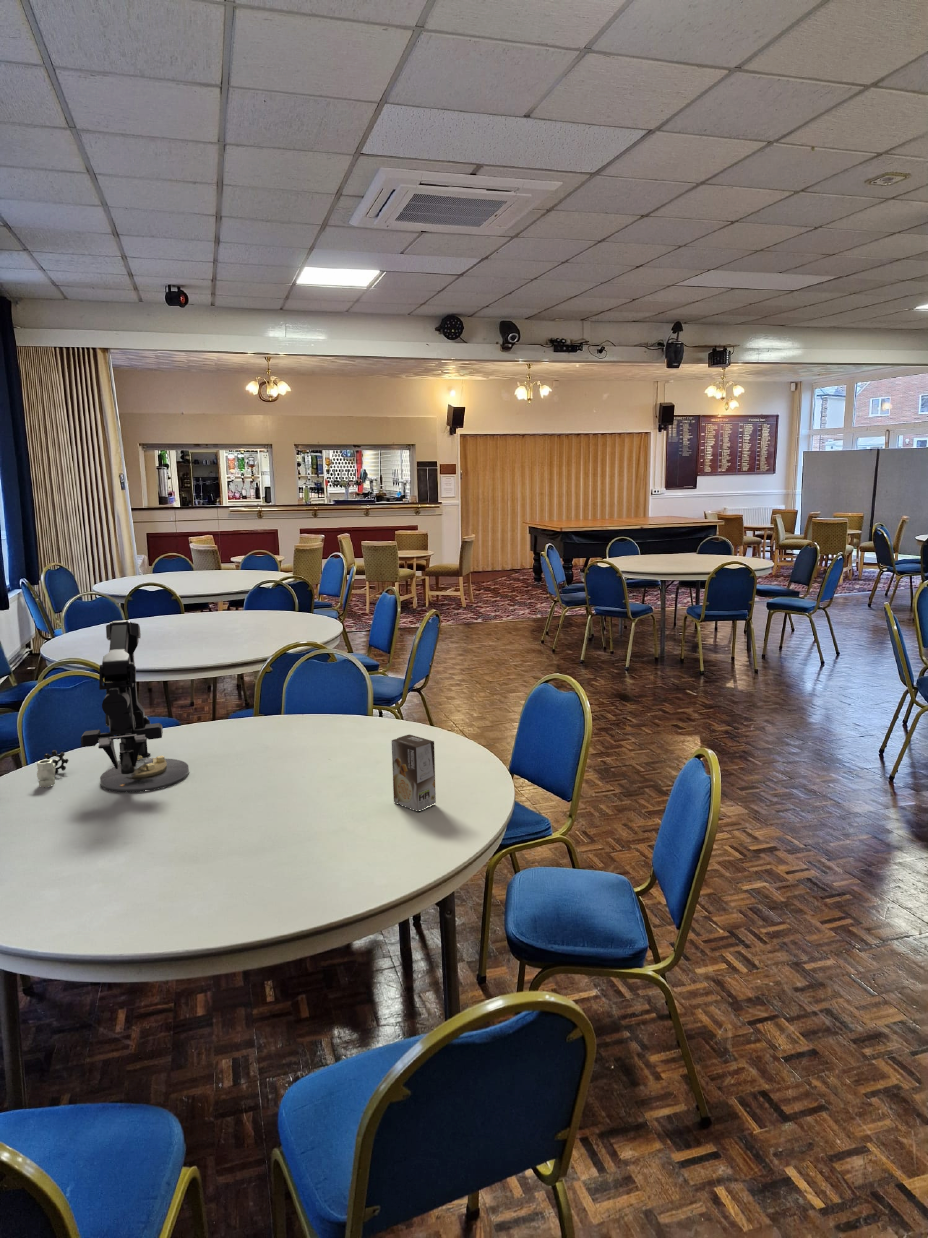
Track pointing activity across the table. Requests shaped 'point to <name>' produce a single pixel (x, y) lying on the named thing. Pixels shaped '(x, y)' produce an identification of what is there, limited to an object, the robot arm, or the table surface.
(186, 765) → the base plate
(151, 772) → the cheese board
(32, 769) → the table surface
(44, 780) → the valve
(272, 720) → the table surface
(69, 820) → the table surface
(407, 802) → the coffee box
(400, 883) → the table surface
